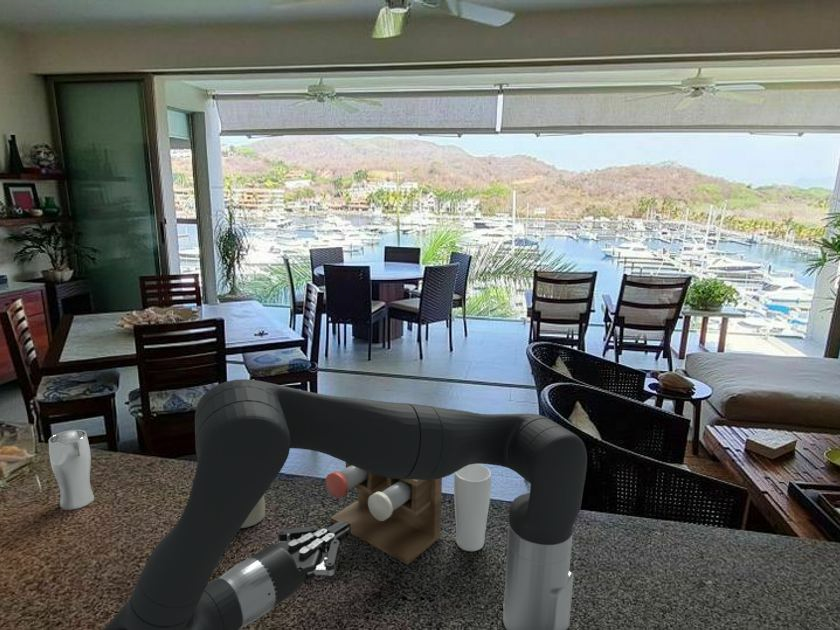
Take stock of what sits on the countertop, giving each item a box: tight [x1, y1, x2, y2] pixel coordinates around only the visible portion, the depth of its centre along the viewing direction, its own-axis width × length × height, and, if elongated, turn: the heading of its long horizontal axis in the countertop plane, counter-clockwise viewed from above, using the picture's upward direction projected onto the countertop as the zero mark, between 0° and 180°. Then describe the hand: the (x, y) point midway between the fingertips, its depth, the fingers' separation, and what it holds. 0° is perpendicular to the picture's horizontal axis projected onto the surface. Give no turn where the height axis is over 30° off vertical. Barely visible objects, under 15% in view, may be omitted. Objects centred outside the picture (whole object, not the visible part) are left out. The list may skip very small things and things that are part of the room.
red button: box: [325, 465, 368, 499], centre depth 103 cm, size 5×10×5 cm, turn 142°
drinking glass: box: [453, 464, 492, 552], centre depth 98 cm, size 7×7×15 cm
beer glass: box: [48, 429, 95, 511], centre depth 110 cm, size 7×7×15 cm
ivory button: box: [368, 480, 412, 521], centre depth 96 cm, size 5×10×5 cm, turn 142°
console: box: [330, 462, 443, 565], centre depth 102 cm, size 20×10×18 cm, turn 52°
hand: (347, 526), depth 87 cm, fingers closed
